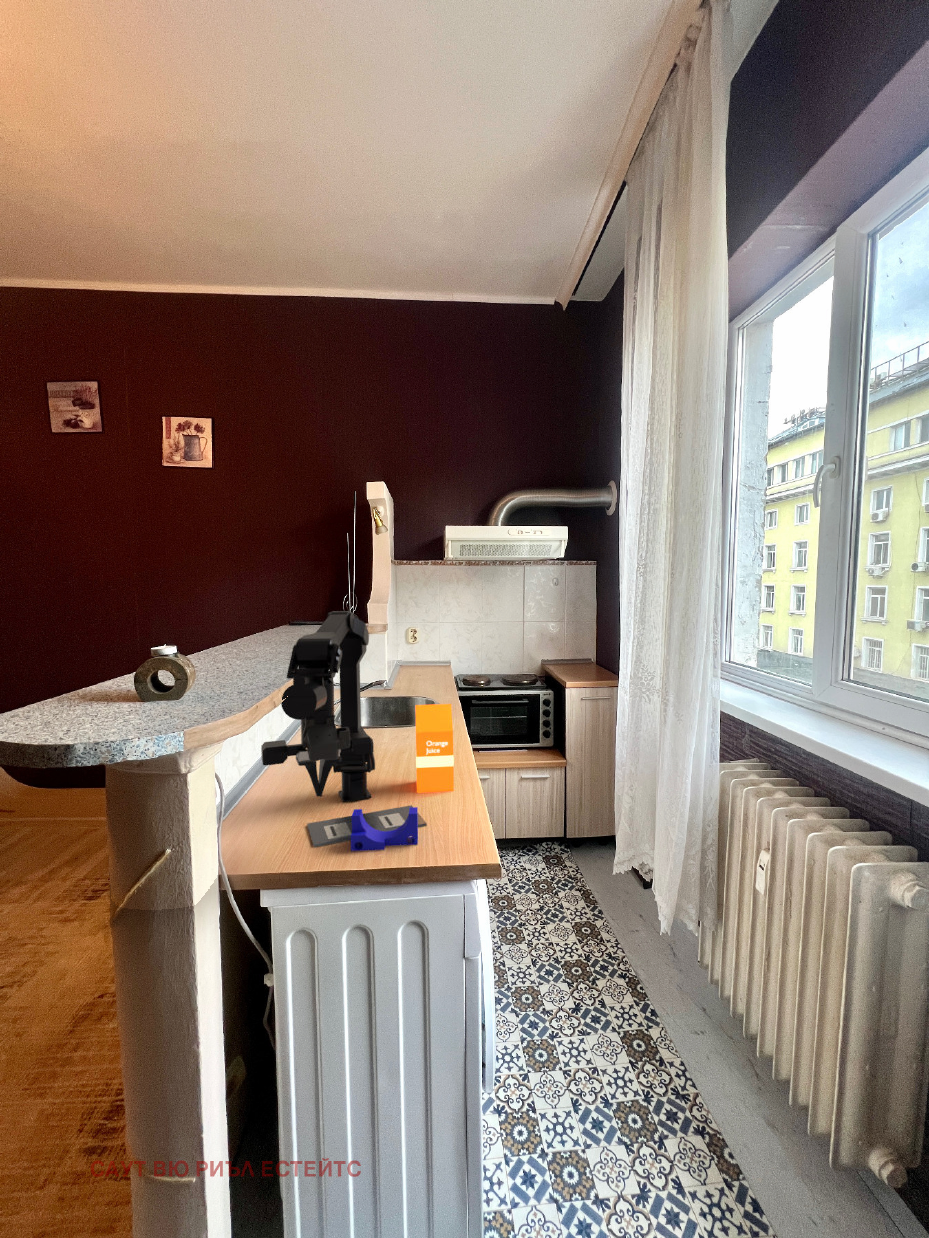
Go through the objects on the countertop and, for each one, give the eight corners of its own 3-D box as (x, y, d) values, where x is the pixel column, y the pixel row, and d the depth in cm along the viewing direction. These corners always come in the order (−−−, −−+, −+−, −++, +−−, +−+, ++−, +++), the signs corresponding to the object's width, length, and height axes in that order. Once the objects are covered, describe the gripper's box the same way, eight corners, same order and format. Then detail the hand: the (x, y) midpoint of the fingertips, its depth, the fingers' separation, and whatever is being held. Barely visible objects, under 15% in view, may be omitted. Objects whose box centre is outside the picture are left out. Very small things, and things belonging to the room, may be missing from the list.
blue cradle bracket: (351, 851, 96) (350, 819, 96) (354, 840, 101) (354, 809, 101) (417, 849, 97) (416, 817, 97) (418, 837, 102) (417, 807, 101)
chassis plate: (307, 825, 107) (307, 822, 107) (411, 807, 116) (411, 804, 116) (313, 847, 98) (313, 843, 98) (426, 825, 107) (426, 822, 107)
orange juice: (416, 781, 132) (415, 701, 131) (451, 779, 133) (450, 700, 132) (416, 793, 124) (415, 708, 123) (454, 791, 125) (453, 707, 124)
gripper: (263, 721, 83) (265, 820, 83) (380, 711, 90) (381, 802, 90) (260, 709, 93) (262, 798, 93) (365, 701, 101) (367, 783, 101)
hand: (319, 795), depth 94 cm, fingers closed
